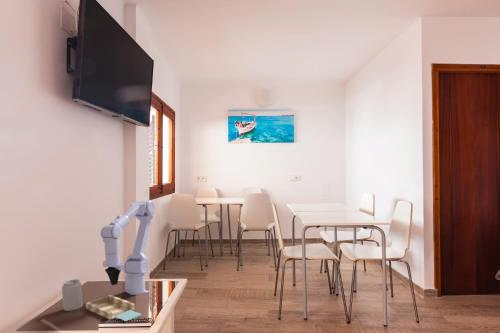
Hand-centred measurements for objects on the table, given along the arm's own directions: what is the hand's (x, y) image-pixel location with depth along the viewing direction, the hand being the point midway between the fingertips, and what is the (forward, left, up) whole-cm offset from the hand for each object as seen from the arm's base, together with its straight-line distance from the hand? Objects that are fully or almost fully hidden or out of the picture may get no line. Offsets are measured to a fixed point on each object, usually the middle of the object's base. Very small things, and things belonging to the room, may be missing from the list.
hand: (114, 284), depth 153 cm
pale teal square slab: (+17, -4, -10) cm, 20 cm away
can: (-14, -12, -10) cm, 21 cm away
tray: (+3, -4, -9) cm, 11 cm away
